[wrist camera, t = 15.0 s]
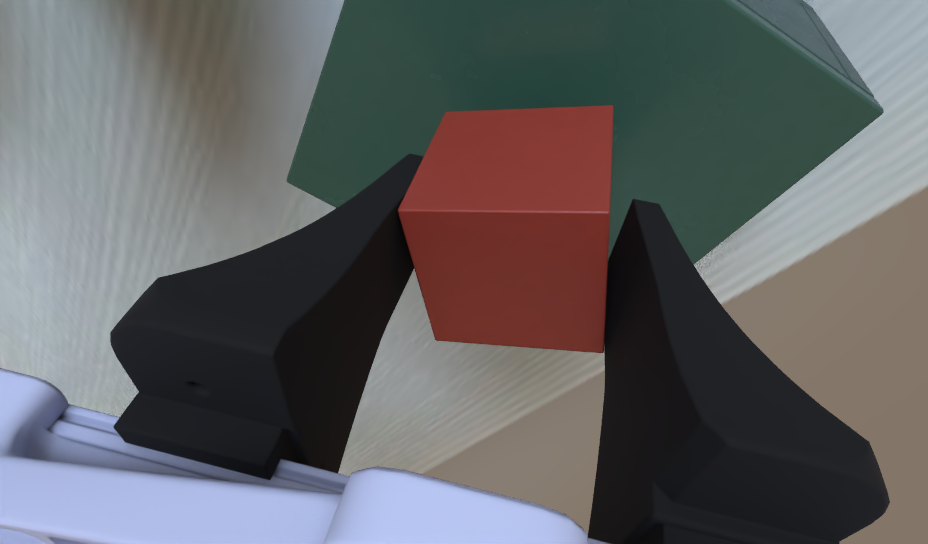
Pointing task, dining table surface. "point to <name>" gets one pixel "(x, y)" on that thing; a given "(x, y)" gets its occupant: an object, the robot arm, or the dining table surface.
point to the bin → (806, 33)
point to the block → (514, 227)
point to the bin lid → (588, 97)
